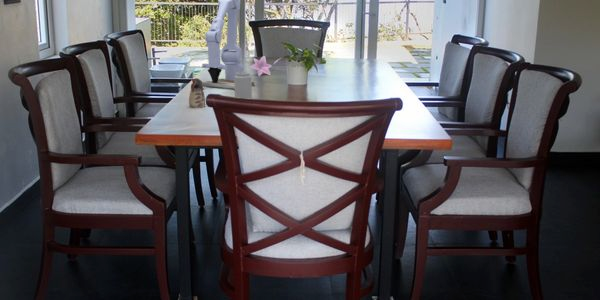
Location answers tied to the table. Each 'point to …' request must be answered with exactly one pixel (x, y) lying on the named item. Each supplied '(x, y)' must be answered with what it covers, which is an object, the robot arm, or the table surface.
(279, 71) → the table surface
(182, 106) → the table surface
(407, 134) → the table surface
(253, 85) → the underlay mat
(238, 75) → the can
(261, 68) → the lily
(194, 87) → the figurine
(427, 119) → the table surface
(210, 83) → the plank
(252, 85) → the laid plank
